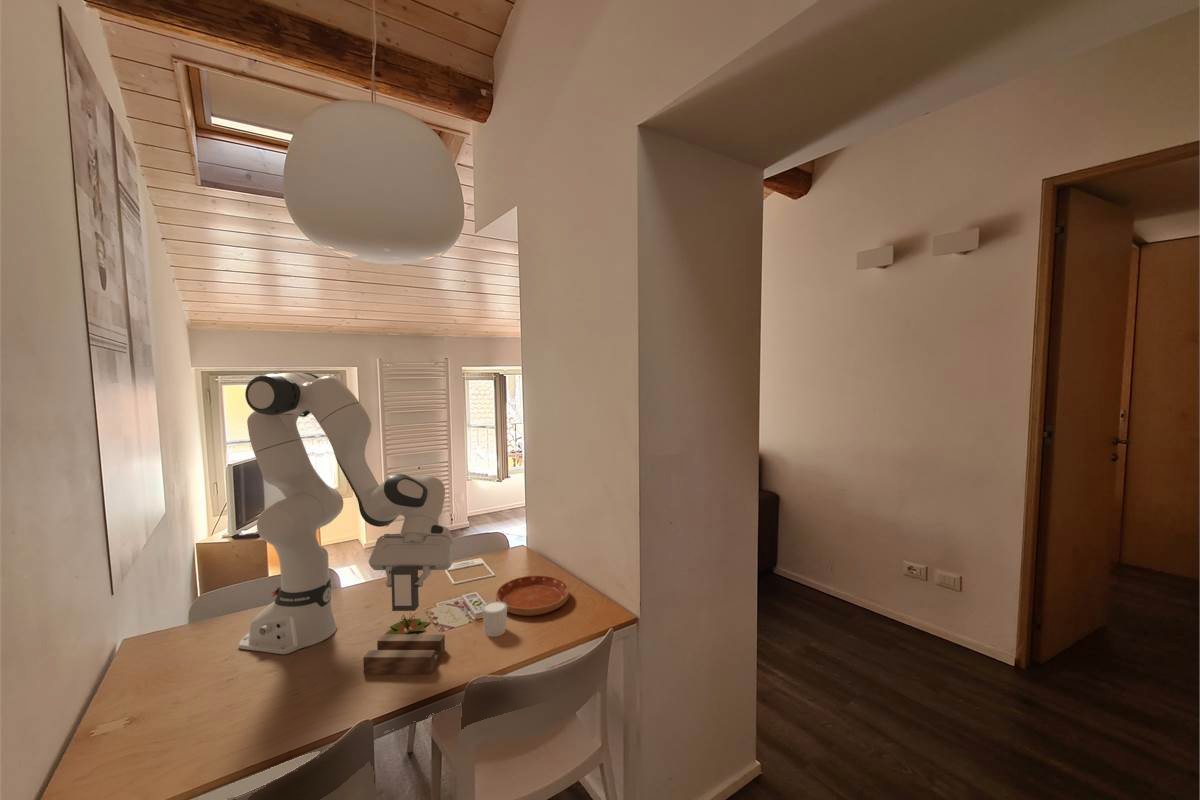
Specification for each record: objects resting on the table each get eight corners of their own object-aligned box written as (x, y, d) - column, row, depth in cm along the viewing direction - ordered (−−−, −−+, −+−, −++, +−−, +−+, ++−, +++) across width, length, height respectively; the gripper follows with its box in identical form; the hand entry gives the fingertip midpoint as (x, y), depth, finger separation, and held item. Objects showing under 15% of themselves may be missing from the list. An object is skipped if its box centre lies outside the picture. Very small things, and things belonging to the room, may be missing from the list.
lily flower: (402, 617, 139) (402, 602, 139) (439, 622, 136) (438, 607, 136) (374, 639, 127) (374, 622, 127) (414, 645, 125) (413, 628, 125)
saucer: (544, 626, 134) (544, 614, 134) (480, 609, 143) (480, 598, 143) (581, 593, 154) (581, 582, 154) (523, 581, 164) (523, 570, 164)
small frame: (392, 611, 115) (390, 571, 115) (396, 606, 118) (395, 566, 117) (414, 611, 115) (413, 570, 115) (418, 605, 118) (417, 566, 117)
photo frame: (480, 557, 183) (495, 574, 168) (480, 560, 183) (495, 577, 168) (442, 564, 176) (453, 583, 160) (442, 567, 176) (453, 586, 160)
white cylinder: (501, 639, 127) (501, 613, 127) (477, 636, 128) (477, 611, 128) (511, 626, 134) (511, 602, 133) (488, 623, 135) (488, 599, 135)
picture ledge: (363, 673, 112) (363, 657, 112) (382, 649, 122) (382, 634, 122) (431, 673, 112) (430, 657, 112) (444, 649, 122) (444, 634, 122)
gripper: (375, 528, 122) (356, 581, 113) (453, 528, 122) (441, 581, 113) (383, 539, 127) (366, 591, 118) (459, 539, 127) (448, 590, 118)
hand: (404, 586), depth 115 cm, fingers closed on small frame, 5 cm apart
